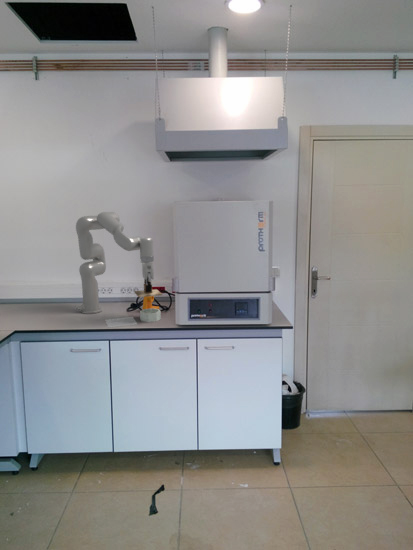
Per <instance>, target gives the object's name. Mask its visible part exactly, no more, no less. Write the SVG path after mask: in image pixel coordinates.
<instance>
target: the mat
mask: <svg viewBox="0 0 413 550" xmlns="http://www.w3.org/2000/svg"><path fill="white" fill-rule="evenodd" d="M104 321H105V323H106V326H107V328H115V327H118V328H119V327H124V326H125V327H126V326H134V325H138V322H137V321H136V319H135V318H134V317H133V316H129V317H128V316H127V317H117V318H108V319H107V318H106V319H104Z"/></svg>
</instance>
